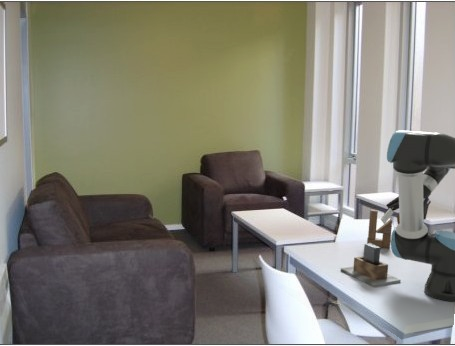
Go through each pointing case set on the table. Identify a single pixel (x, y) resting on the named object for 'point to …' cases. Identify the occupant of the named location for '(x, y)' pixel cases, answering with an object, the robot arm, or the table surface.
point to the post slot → (370, 272)
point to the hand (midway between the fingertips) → (394, 225)
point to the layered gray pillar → (371, 254)
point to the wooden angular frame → (379, 231)
